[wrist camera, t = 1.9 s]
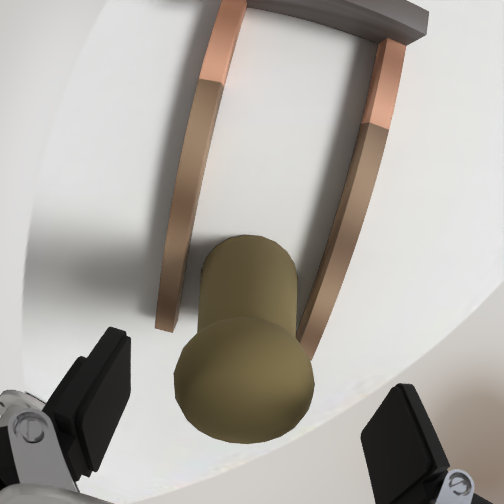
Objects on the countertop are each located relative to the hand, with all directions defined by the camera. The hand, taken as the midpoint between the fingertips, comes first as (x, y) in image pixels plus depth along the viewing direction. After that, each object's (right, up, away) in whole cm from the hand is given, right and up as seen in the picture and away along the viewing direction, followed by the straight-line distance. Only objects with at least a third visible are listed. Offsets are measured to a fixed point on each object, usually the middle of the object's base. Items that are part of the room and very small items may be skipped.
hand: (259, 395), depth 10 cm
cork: (0, +3, +10) cm, 11 cm away
